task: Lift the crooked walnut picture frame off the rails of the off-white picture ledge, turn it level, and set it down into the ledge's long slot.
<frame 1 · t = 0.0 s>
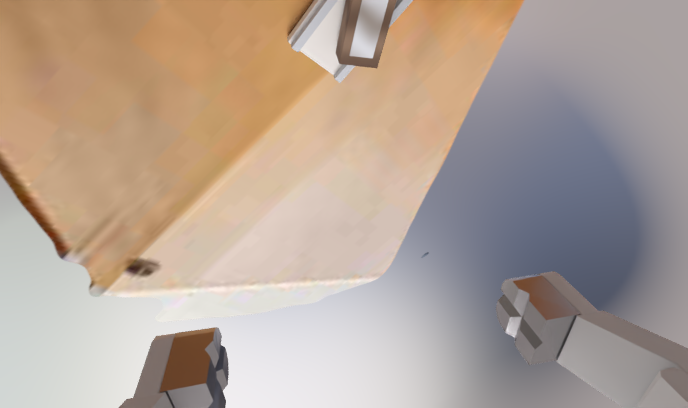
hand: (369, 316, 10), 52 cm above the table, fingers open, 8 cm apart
picture ledge: (360, 0, 53), on the table
picture frame: (364, 7, 51), point 3 cm above the table, touching picture ledge
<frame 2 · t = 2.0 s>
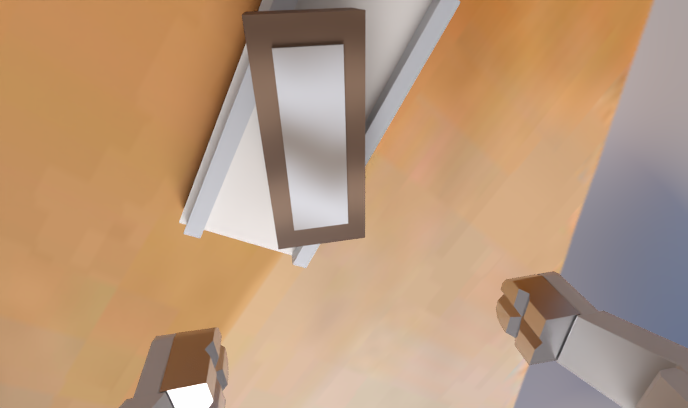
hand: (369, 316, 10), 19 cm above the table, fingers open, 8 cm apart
picture ledge: (305, 116, 26), on the table
picture frame: (309, 128, 24), point 3 cm above the table, touching picture ledge
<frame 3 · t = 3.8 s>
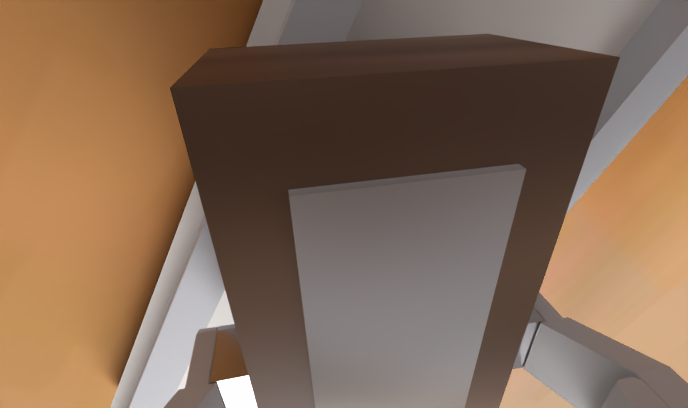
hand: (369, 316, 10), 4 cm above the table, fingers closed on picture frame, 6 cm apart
picture ledge: (343, 235, 13), on the table
picture frame: (359, 285, 11), point 3 cm above the table, touching gripper, picture ledge
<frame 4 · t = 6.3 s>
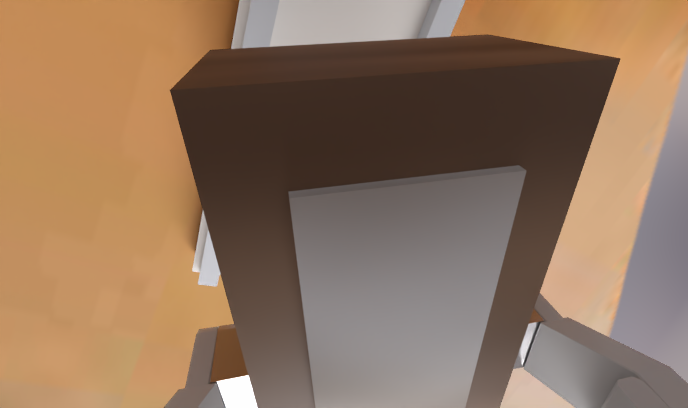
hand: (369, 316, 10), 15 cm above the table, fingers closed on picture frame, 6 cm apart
picture ledge: (311, 135, 23), on the table
picture frame: (359, 286, 11), point 14 cm above the table, touching gripper
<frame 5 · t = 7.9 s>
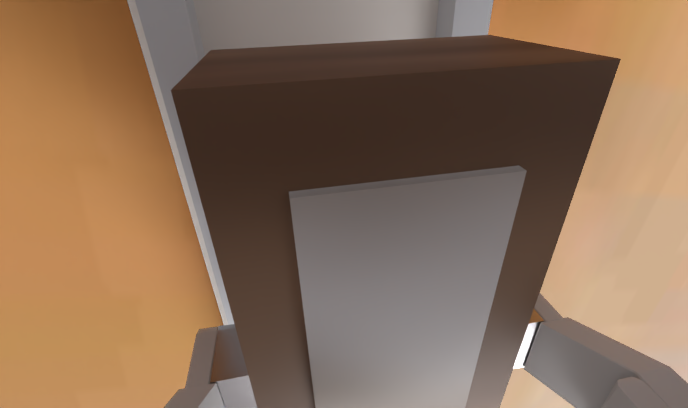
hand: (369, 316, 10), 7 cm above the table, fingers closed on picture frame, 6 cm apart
picture ledge: (328, 194, 16), on the table
picture frame: (359, 286, 11), point 6 cm above the table, touching gripper
when the fingers open (4 cm above the table, at t = 8.9 s): picture frame drops 1 cm, resting on picture ledge.
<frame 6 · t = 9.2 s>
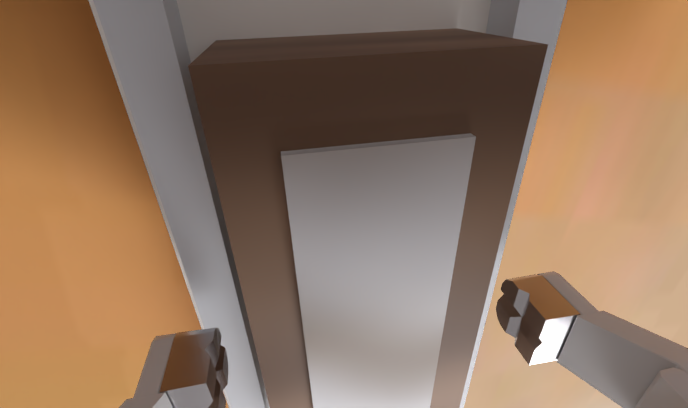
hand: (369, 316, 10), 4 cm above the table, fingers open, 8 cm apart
picture ledge: (343, 233, 14), on the table
picture frame: (348, 257, 12), point 1 cm above the table, touching picture ledge
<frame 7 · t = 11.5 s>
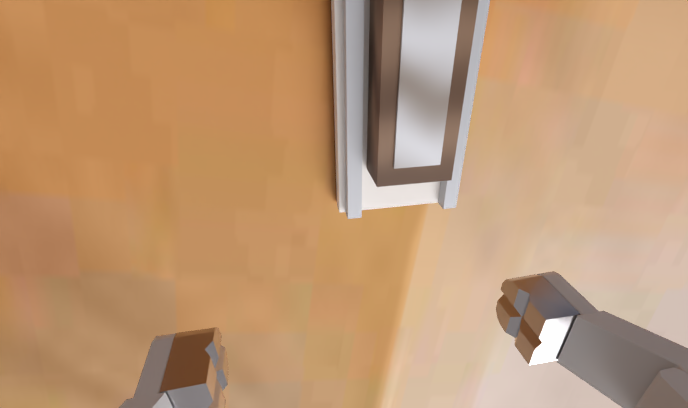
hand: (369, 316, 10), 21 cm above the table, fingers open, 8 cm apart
picture ledge: (401, 77, 28), on the table
picture frame: (406, 80, 27), point 1 cm above the table, touching picture ledge
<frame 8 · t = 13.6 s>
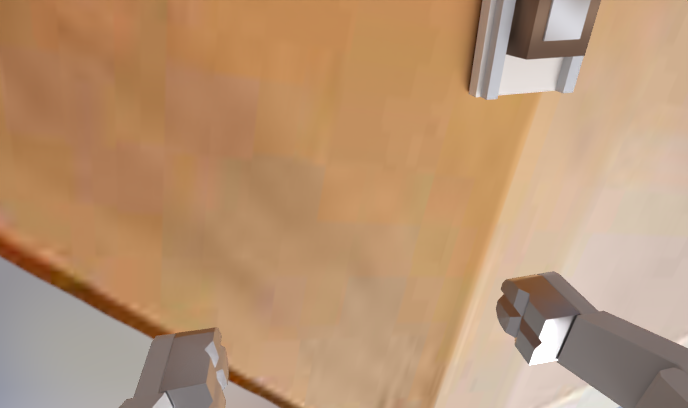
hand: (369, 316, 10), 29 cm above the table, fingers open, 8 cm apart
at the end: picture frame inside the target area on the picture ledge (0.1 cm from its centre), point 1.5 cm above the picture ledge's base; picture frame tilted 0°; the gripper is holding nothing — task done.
